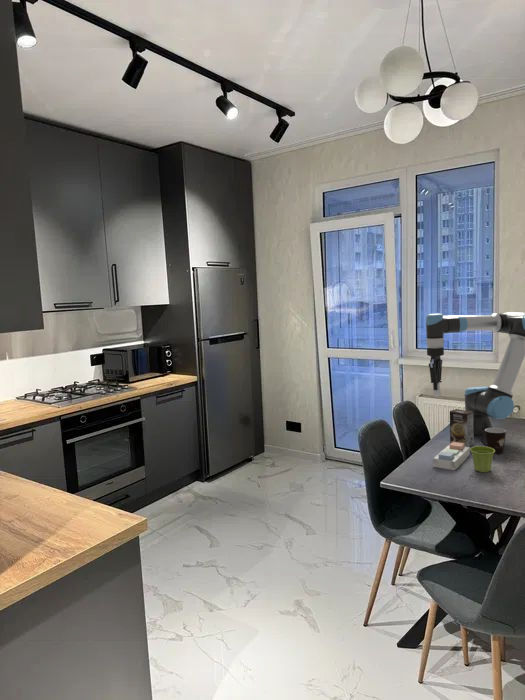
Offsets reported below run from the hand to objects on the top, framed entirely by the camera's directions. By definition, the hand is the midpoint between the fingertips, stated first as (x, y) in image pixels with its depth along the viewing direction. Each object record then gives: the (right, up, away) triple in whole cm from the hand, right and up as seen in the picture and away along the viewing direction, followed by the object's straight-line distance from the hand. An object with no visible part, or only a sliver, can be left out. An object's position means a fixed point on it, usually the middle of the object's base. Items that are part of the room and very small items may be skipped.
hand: (436, 396), depth 240 cm
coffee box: (+13, -23, +4) cm, 27 cm away
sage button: (+1, -25, -18) cm, 31 cm away
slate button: (-4, -25, -24) cm, 35 cm away
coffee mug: (+22, -24, -10) cm, 34 cm away
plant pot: (+9, -28, -31) cm, 42 cm away
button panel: (+1, -26, -18) cm, 32 cm away
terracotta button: (+5, -23, -12) cm, 27 cm away
